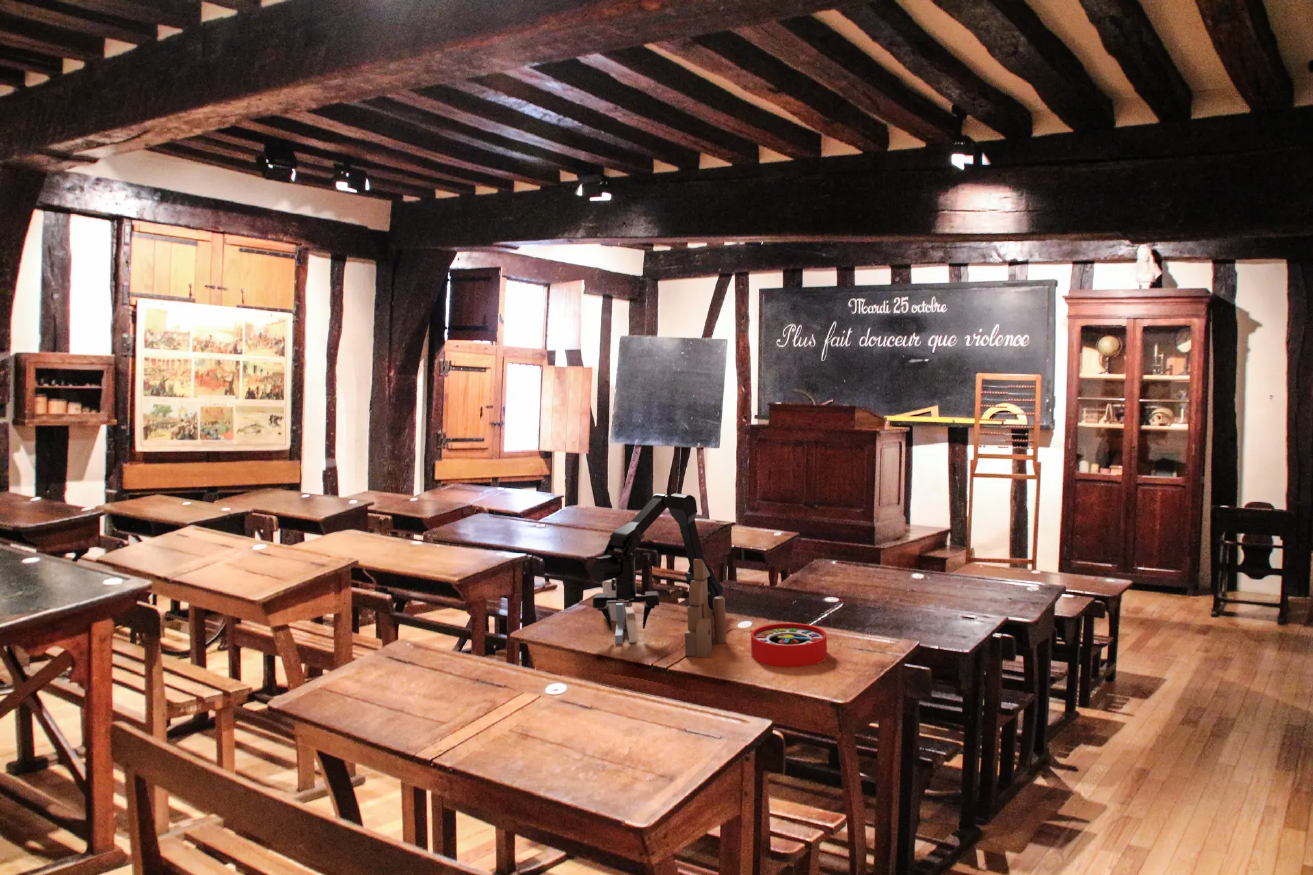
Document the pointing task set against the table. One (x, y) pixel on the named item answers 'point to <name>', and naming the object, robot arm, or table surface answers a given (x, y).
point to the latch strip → (619, 624)
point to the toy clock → (788, 645)
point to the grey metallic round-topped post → (625, 612)
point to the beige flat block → (630, 623)
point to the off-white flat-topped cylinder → (608, 589)
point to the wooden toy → (703, 616)
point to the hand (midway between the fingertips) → (627, 629)
